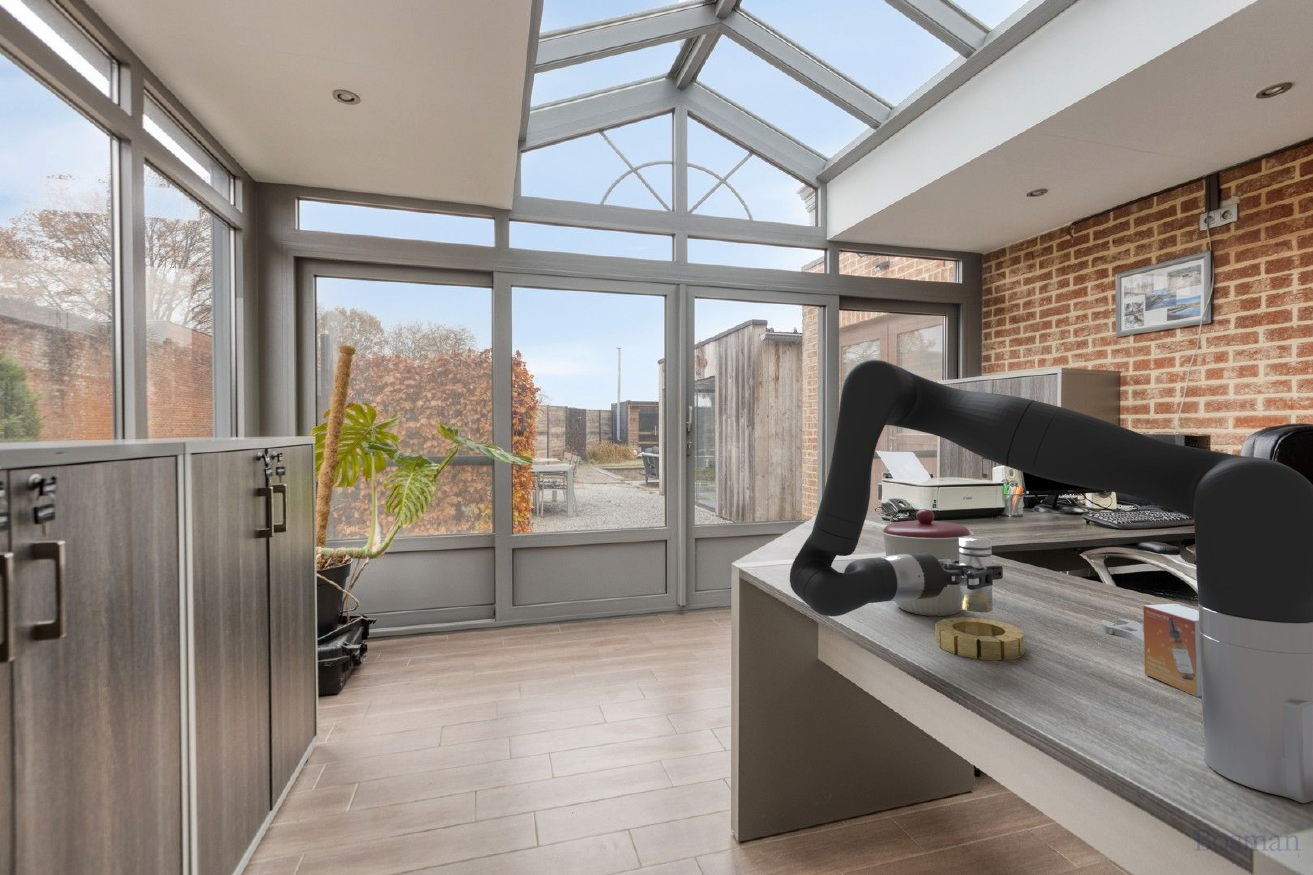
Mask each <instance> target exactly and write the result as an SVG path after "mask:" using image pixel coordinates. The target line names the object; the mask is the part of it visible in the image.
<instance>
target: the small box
mask: <svg viewBox="0 0 1313 875" xmlns="http://www.w3.org/2000/svg"><path fill="white" fill-rule="evenodd" d="M1142 607H1143V610H1142V612H1143V632H1144V647H1143V657H1144V659H1143V660H1144V662H1143V663H1144V675H1146V676H1148V677H1152V678H1154V679H1155V680H1158V681H1161V682H1163V683H1165V684H1166V685H1169V686H1172V687H1173V688H1175V689H1178V690H1181V691H1182V692H1184V691H1185V692H1184V693H1187V694H1189V693H1190V694H1192V695H1191V696H1193V695H1194V696H1193V697H1195V696H1196V697H1195V698H1202V687H1201V661H1200V636H1199V609H1194V608H1191V607H1187V606H1185V605H1182V604H1179V603H1165V604H1164V603H1163V604H1162V603H1161V604H1145V605H1143V606H1142ZM1190 694H1189V695H1190Z"/></svg>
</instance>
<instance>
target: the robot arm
mask: <svg viewBox="0 0 1313 875" xmlns="http://www.w3.org/2000/svg"><path fill="white" fill-rule="evenodd" d="M836 426H837V427H836V432H835V439H834V444H833V452H832V456H831V462H830V466H829V471H828V475H827V480H826V483H825V487H824V490H823V494H822V497H821V501H820V504H819V508H818V510H817V513H816V516H815V519H814V523H813V526H812V530H811V532H810V534H809V536H808V537H807V539H806V540H805V541H804V543H803V544H802V547H801V549H800V550H799V551H798V553H797V554H796V556H795V558H794V560H793V562H792V565H791V567H790V571H789V572H790V573H789V584H790V588H791V589H792V591H793V593H794V594H795V595H796V596H797V597H798V598H800V600H802V601H803V602H804V604H806V605H807V606H808V607H809V608H811V609H812V610H813V611H814V612H815V613H817V614H818V615H821V616H825V617H839V616H844V615H847V614H849V613H850V612H853V611H855V610H857V609H859V608H861V607H864V606H866V605H868V604H875V603H884V602H895V601H909V600H917V599H926V598H934V597H936V596H938V595H939V594H940V593H941V592H942V590H943V589H944V587H956V586H967V589H970V590H975V589H979V588H983V587H987V586H991V585H992V586H993V585H994V581H996V580H1002V579H1003V577H1004V569H1003V566H1002V565H998V564H997V565H996V564H995V565H992V566H985V567H984V566H981V567H973V566H972V565H969V564H959V560H957V562H956V560H954V559H945V558H942V557H941V558H936V557H934V556H933V555H932V554H930V553H927V552H919V553H908V554H897V555H889V556H886V555H885V556H882V557H872V558H862V559H855V560H853V561H851V562H849V563H848V564H847V565H846V567H845V569H844V572H840V571H837V570H836V569H835V568H834V567H832V565H833V563H834V561H835V559H836V557H837V556H838V557H849V556H851V555H852V554H854V552H855V551H856V548H857V546H858V543H859V541H860V538H861V534H862V531H863V528H864V524H865V521H866V519H867V515H868V511H869V506H870V499H871V489H872V488H871V487H872V486H871V485H872V484H871V483H872V470H873V469H872V468H873V461H874V456H875V452H876V449H877V446H878V445H877V444H878V443H879V439H880V437H881V435H882V433H883V430H884V428H885V427H886V426H891V427H892V426H893V427H898V428H902V429H908V430H913V431H917V432H921V433H925V434H928V435H933V436H937V437H940V438H942V439H944V440H947V441H950V442H952V443H953V444H956V445H957V446H959V447H961V448H963V449H965V450H967V451H969V452H972V453H973V454H975V455H978V456H980V457H982V458H985V459H987V460H989V461H991V462H994V463H997V464H999V465H1002V466H1005V467H1007V468H1011V469H1013V470H1016V471H1020V472H1023V473H1025V474H1029V475H1032V476H1035V477H1038V478H1042V479H1046V480H1050V481H1054V482H1058V483H1062V484H1067V485H1072V486H1077V487H1081V488H1082V487H1083V488H1087V489H1092V490H1099V491H1106V492H1109V493H1110V492H1112V493H1117V494H1121V495H1127V496H1131V497H1133V498H1138V499H1141V500H1144V501H1146V502H1150V503H1153V504H1155V505H1158V506H1161V507H1163V508H1166V509H1169V510H1172V511H1174V512H1176V513H1180V514H1182V515H1183V516H1186V517H1190V518H1192V519H1193V520H1194V521H1193V523H1194V524H1193V525H1194V542H1195V545H1194V546H1195V569H1196V570H1195V574H1196V586H1197V587H1196V589H1197V600H1198V603H1197V604H1198V605H1197V606H1198V611H1199V636H1200V661H1201V687H1202V697H1201V705H1202V706H1201V707H1202V709H1201V710H1202V726H1203V728H1202V729H1203V737H1202V740H1203V742H1202V743H1203V747H1204V761H1205V763H1206V764H1207V766H1208V767H1210V768H1211V769H1212V770H1213V771H1215V772H1216V773H1218V774H1219V775H1221V776H1223V777H1225V778H1226V779H1229V780H1231V781H1233V782H1236V783H1238V784H1240V785H1242V786H1244V787H1245V786H1246V787H1248V788H1250V789H1253V790H1254V789H1255V790H1257V791H1261V792H1264V793H1268V794H1272V795H1277V796H1282V797H1285V798H1288V799H1290V800H1294V801H1296V802H1298V803H1301V804H1306V803H1309V802H1313V483H1311V481H1310V480H1309V479H1308V478H1306V477H1305V476H1304V475H1303V474H1301V473H1300V472H1298V471H1297V470H1296V469H1293V468H1292V467H1291V466H1288V465H1285V464H1284V463H1282V462H1279V461H1275V460H1272V459H1269V458H1264V457H1263V458H1262V457H1257V456H1245V455H1244V456H1243V455H1238V454H1233V453H1227V452H1226V453H1225V452H1219V451H1214V450H1208V449H1203V448H1197V447H1192V446H1188V445H1181V444H1178V443H1177V444H1176V443H1173V442H1168V441H1165V440H1161V439H1158V438H1154V437H1150V436H1147V435H1144V434H1141V433H1139V432H1137V431H1134V430H1132V429H1129V428H1126V427H1123V426H1121V425H1118V424H1115V423H1112V422H1109V421H1107V420H1104V419H1101V418H1098V417H1094V416H1091V415H1089V414H1086V413H1082V412H1078V411H1075V410H1072V409H1070V408H1065V407H1061V406H1058V405H1054V404H1050V403H1045V402H1042V401H1038V400H1034V399H1031V398H1030V399H1029V398H1025V397H1019V396H1013V395H1010V394H1009V395H1008V394H1001V393H995V392H993V393H992V392H982V391H969V390H964V389H959V388H955V387H951V386H948V385H946V384H945V385H944V384H942V383H939V382H937V381H935V380H934V381H933V380H931V379H928V378H925V377H923V376H919V375H917V374H915V373H913V372H911V371H908V370H907V369H905V368H902V367H901V366H898V365H895V364H893V363H891V362H887V361H885V360H881V359H866V360H864V361H861V362H860V363H858V364H856V365H855V366H854V367H853V368H852V369H850V371H849V372H848V374H847V375H846V377H845V379H844V382H843V385H842V390H841V395H840V402H839V410H838V418H837V425H836ZM962 568H965V572H966V576H964V570H963V569H962Z"/></svg>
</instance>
